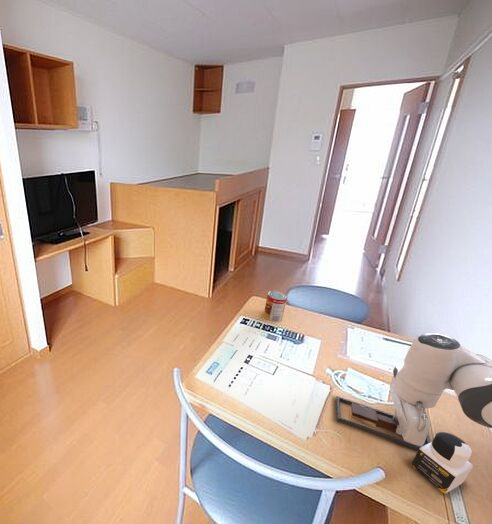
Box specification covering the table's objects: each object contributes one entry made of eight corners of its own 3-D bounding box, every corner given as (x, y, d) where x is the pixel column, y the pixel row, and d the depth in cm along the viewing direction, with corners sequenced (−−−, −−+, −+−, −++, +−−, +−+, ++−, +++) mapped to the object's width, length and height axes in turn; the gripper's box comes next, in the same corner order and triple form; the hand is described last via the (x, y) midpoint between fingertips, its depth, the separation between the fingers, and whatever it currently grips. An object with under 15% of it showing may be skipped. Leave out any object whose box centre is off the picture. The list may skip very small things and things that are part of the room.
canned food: (276, 313, 142) (281, 290, 137) (285, 322, 135) (290, 299, 130) (260, 313, 142) (264, 290, 137) (268, 323, 134) (272, 299, 130)
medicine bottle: (409, 467, 76) (426, 433, 71) (426, 457, 78) (445, 424, 74) (443, 496, 70) (465, 461, 65) (461, 484, 72) (484, 450, 68)
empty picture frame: (421, 430, 86) (424, 425, 85) (431, 458, 78) (434, 452, 78) (335, 400, 95) (336, 395, 94) (336, 423, 88) (338, 417, 87)
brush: (416, 433, 84) (420, 425, 83) (420, 445, 81) (424, 437, 80) (348, 409, 91) (351, 402, 90) (349, 419, 88) (352, 412, 87)
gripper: (444, 425, 69) (422, 466, 74) (421, 370, 86) (404, 406, 91) (409, 414, 72) (390, 453, 77) (393, 362, 88) (378, 398, 94)
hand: (397, 427), depth 84 cm, fingers closed on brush, 2 cm apart
